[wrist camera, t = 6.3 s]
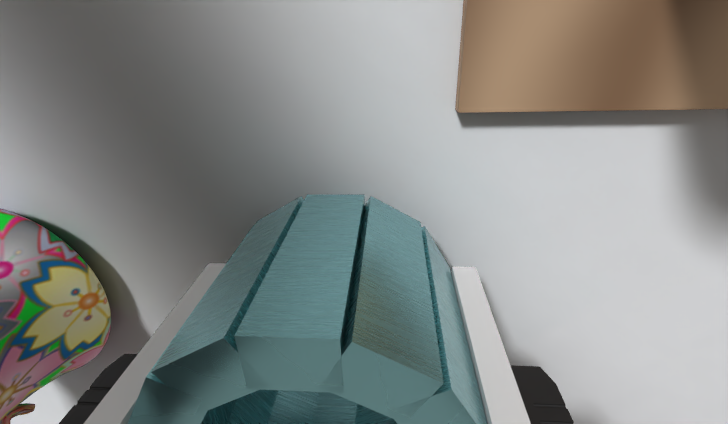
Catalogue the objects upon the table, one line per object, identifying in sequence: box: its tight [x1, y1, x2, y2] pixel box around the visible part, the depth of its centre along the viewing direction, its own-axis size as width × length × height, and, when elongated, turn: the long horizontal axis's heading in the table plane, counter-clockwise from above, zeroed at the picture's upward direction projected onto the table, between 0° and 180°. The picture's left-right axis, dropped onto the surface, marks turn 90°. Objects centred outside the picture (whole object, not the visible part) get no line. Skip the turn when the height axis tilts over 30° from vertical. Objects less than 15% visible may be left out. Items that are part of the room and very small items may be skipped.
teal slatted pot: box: [128, 195, 487, 424], centre depth 11 cm, size 8×8×6 cm
